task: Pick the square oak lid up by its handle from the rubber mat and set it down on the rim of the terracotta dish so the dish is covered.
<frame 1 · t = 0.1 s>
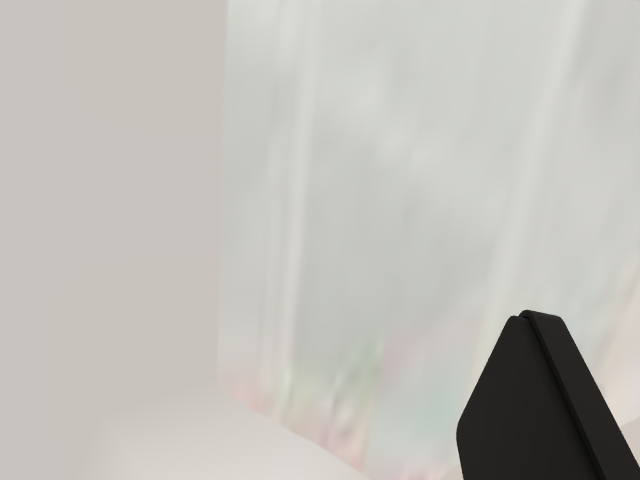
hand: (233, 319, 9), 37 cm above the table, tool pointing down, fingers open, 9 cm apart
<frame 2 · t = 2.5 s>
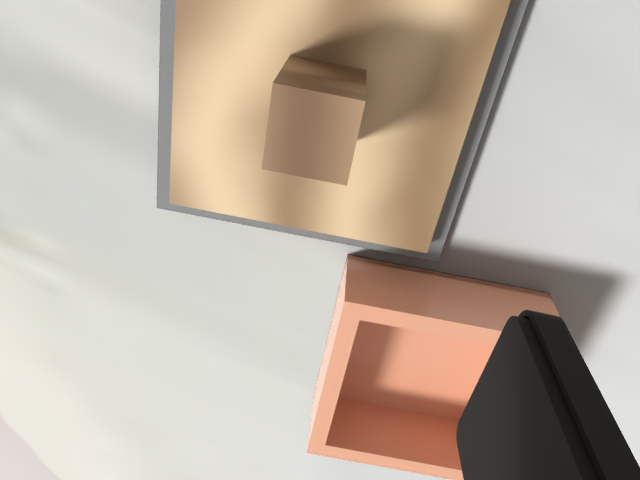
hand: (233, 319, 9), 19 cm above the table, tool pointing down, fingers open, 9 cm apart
lid: (323, 94, 26), point 1 cm above the table, touching mat
mat: (324, 91, 26), on the table
dish: (421, 349, 34), on the table
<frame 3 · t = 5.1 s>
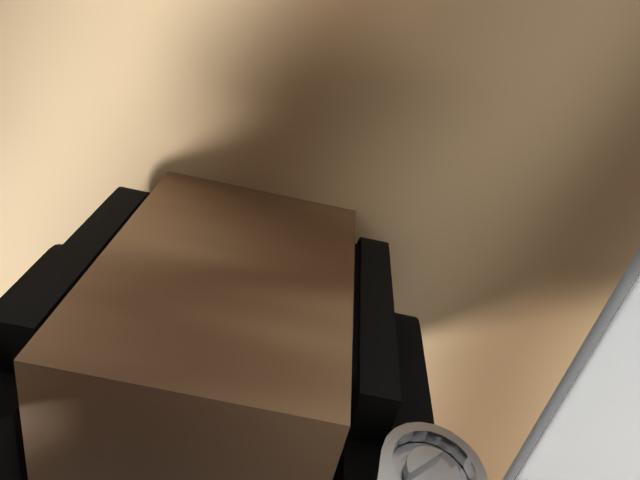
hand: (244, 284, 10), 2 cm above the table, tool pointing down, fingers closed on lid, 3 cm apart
lid: (258, 243, 12), point 1 cm above the table, touching gripper, mat
mat: (263, 230, 12), on the table
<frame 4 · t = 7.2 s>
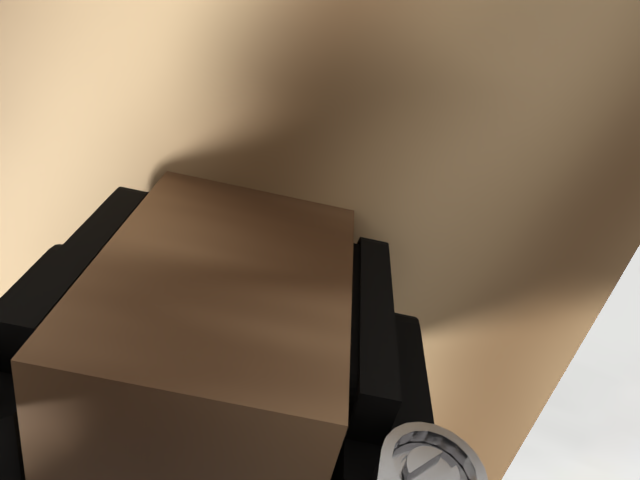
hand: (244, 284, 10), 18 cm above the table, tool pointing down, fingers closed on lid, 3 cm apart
lid: (257, 243, 12), point 16 cm above the table, touching gripper
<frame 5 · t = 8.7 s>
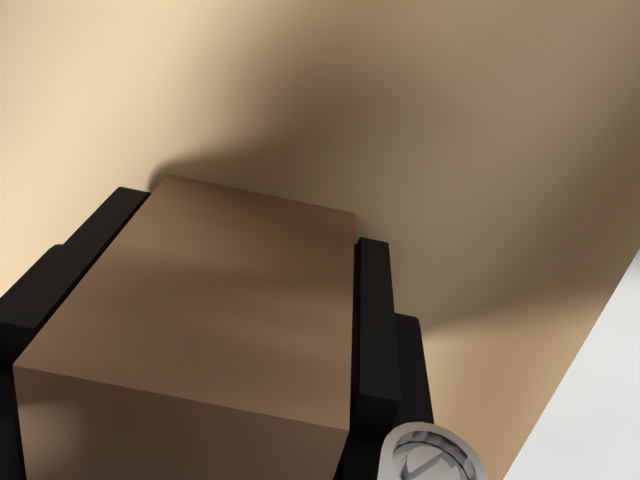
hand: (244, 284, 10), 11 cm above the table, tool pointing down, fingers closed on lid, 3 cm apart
lid: (258, 246, 12), point 9 cm above the table, touching gripper
when the fingers open (7 cm above the table, at t = 9.7 s): lid stays where it is, resting on dish.
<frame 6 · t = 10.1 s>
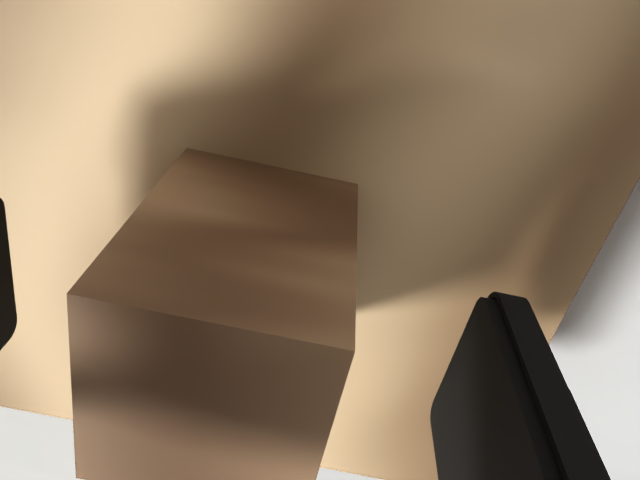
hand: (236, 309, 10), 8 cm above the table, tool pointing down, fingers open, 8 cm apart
lid: (267, 218, 12), point 4 cm above the table, touching dish
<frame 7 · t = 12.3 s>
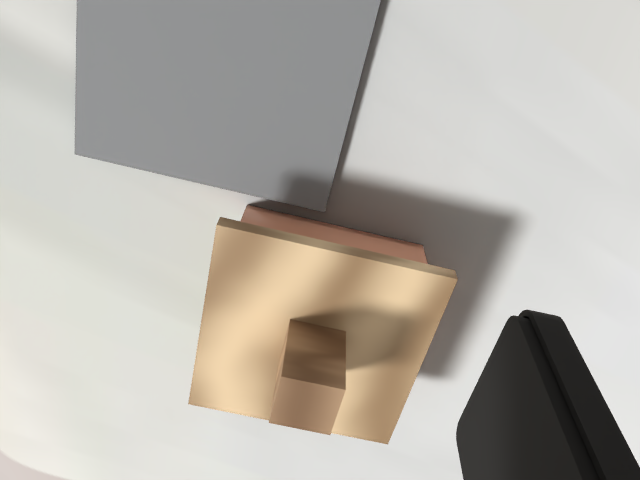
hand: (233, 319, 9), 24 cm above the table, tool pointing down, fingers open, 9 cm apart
lid: (312, 336, 34), point 4 cm above the table, touching dish
mat: (221, 53, 31), on the table
dish: (315, 297, 38), on the table
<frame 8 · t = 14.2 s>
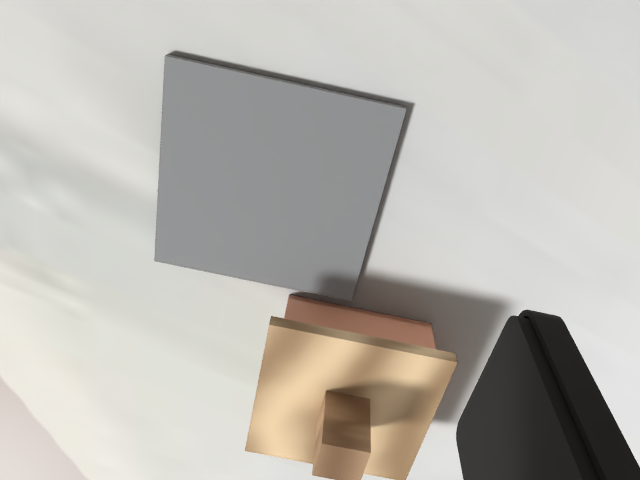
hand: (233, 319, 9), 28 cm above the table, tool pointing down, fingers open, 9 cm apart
lid: (343, 400, 43), point 4 cm above the table, touching dish
mat: (269, 188, 39), on the table
dish: (344, 362, 47), on the table
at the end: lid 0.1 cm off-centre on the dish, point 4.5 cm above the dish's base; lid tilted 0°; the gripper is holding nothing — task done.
